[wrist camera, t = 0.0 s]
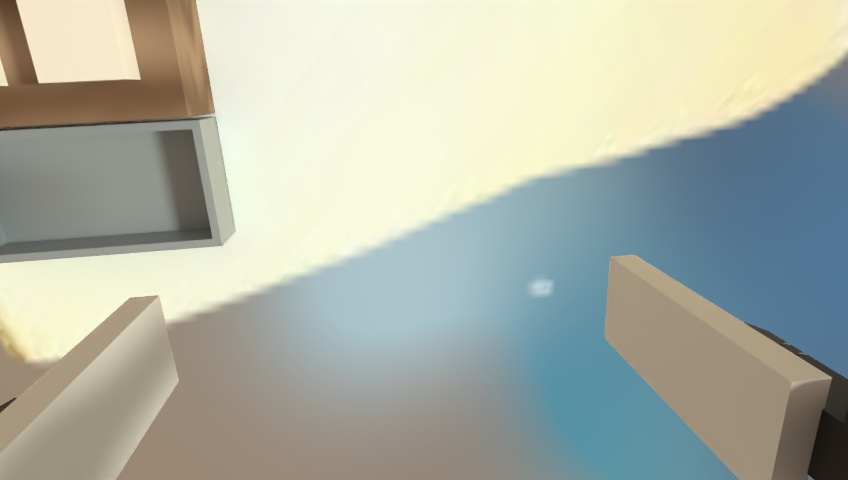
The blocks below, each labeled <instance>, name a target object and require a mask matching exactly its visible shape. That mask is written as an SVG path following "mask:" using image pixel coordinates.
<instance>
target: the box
mask: <svg viewBox="0 0 848 480" xmlns="http://www.w3.org/2000/svg"><path fill="white" fill-rule="evenodd" d="M234 232H235V226H234V220H233V214H232V208H231V202H230V197H229V191H228V185H227V179H226V174H225V168H224V162H223V156H222V150H221V145H220V139H219V133H218V127H217V121H216V117H204V118H185V119H167V120H149V121H130V122H112V123H93V124H75V125H57V126H38V127H20V128H2V129H0V263H9V262H22V261H35V260H48V259H60V258H73V257H86V256H99V255H111V254H124V253H137V252H150V251H163V250H175V249H188V248H201V247H214V246H222V245H223V244H224V243H225V242H226V241H227V240H228V239H229V238H230V237H231V236H232V235H233V233H234Z"/></svg>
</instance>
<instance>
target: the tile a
mask: <svg viewBox="0 0 848 480" xmlns="http://www.w3.org/2000/svg"><path fill="white" fill-rule="evenodd" d="M0 86H8V83H7V79H6V76H5V73H4V69H3V66H2V62H1V59H0Z"/></svg>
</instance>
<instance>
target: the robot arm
mask: <svg viewBox="0 0 848 480" xmlns="http://www.w3.org/2000/svg"><path fill="white" fill-rule="evenodd" d="M607 296H608V297H607V309H606V322H605V337H604V338H605V339H606V340H607V341H608V342H609V343H610V344H611V345H612V346H613V347H614V348H615V349H616V350H617V351H618V352H619V353H620V355H622V357H623V358H624V359H625V360H626V361H627V362H628V363H629V364H630V365H631V366H632V367H633V368H634V369H635V370H636V371H637V372H638V373H639V375H640V376H641V377H642V378H643V379H644V380H645V381H646V382H647V383H648V384H649V385H650V386H651V387H652V388H653V389H654V390H655V391H656V392H657V393H658V394H659V396H660V397H661V398H662V399H663V400H664V401H665V402H666V403H667V404H668V405H669V406H670V407H671V408H672V409H673V410H674V411H675V412H676V413H677V414H678V415H679V417H680V418H682V420H683V421H684V422H685V423H686V424H687V425H688V426H689V427H690V428H691V429H692V430H693V431H694V432H695V433H696V434H697V435H698V436H699V437H700V439H701V440H702V441H703V442H704V443H705V444H706V445H707V446H708V447H709V448H710V449H711V450H712V451H713V452H714V453H715V454H716V455H717V456H718V457H719V459H720V460H721V461H722V462H723V463H724V464H725V465H726V466H727V467H728V468H729V469H730V470H731V471H732V472H733V473H734V474H735V475H736V476H737V477H738V478H739V480H808V476H809V475H810V476H811V477H812V478H813V479H814V480H848V379H846V378H844V377H843V376H841V375H840V374H838V373H836V372H835V371H833V370H831V369H830V368H828V367H827V366H825V365H823V364H821V363H820V362H818V361H817V360H815V359H813V358H812V357H810V356H808V355H804V354H803V352H802V351H800V350H798V349H797V348H795V347H793V346H792V345H790V346H788V344H787V342H785V341H784V340H782V339H780V338H779V337H777V336H775V335H774V334H772V333H770V332H769V331H766V330H763V329H761V328H758V327H756V326H753V325H750V324H748V323H745V322H742V321H740V320H739V319H737V318H735V317H734V316H732V315H730V314H729V313H727V312H725V311H724V310H722V309H721V308H719V307H718V306H716V305H715V304H713V303H711V302H710V301H708V300H706V299H705V298H703V297H701V296H700V295H698V294H697V293H695V292H694V291H692V290H690V289H689V288H687V287H686V286H684V285H682V284H681V283H679V282H678V281H676V280H674V279H673V278H671V277H670V276H668V275H666V274H664V273H663V272H661V271H660V270H658V269H657V268H655V267H653V266H652V265H650V264H649V263H647V262H645V261H644V260H642V259H641V258H639V257H637V256H636V255H624V256H613V257H610V267H609V282H608V295H607ZM178 381H179V380H178V376H177V371H176V367H175V363H174V359H173V354H172V350H171V346H170V341H169V337H168V333H167V328H166V324H165V319H164V315H163V311H162V307H161V302H160V298H159V295H158V296H146V297H135V298H129V299H128V300H127V301H126V302H125V303H124V304H123V305H121V306H120V307H119V308H118V309H117V310H116V311H115V312H114V313H112V314H111V315H110V316H109V317H108V318H107V319H106V320H105V321H103V322H102V323H101V324H100V325H99V326H98V327H97V328H96V329H94V330H93V331H92V332H91V333H90V334H89V335H88V336H87V337H85V338H84V339H83V340H82V341H81V342H80V343H79V344H78V345H76V346H75V347H74V348H73V349H72V350H71V351H70V352H68V353H67V354H66V355H65V356H64V357H63V358H62V359H61V360H59V361H58V362H57V363H56V364H55V365H54V366H53V367H52V368H50V369H49V370H48V371H47V372H46V373H45V374H44V375H43V376H41V377H40V378H39V379H38V380H37V381H36V382H35V383H34V384H32V385H31V386H30V387H29V388H28V389H27V390H26V391H25V392H23V393H22V394H21V395H20V396H19V397H18V398H13V399H12V400H10V401H8V402H7V403H5V404H3V405H1V406H0V480H116V478H117V476H118V475H119V473H120V472H121V470H122V469H123V467H124V466H125V464H126V462H127V461H128V459H129V458H130V456H131V455H132V453H133V452H134V450H135V448H136V447H137V445H138V444H139V442H140V441H141V439H142V438H143V436H144V434H145V433H146V431H147V430H148V428H149V427H150V425H151V423H152V422H153V420H154V419H155V417H156V415H157V414H158V413H159V411H160V409H161V408H162V406H163V405H164V403H165V402H166V400H167V399H168V397H169V395H170V394H171V392H172V391H173V389H174V388H175V386H176V384H177V383H178Z"/></svg>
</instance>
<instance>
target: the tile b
mask: <svg viewBox="0 0 848 480" xmlns="http://www.w3.org/2000/svg"><path fill="white" fill-rule="evenodd" d="M16 2H17V6H18V10H19V13H20V17H21V20H22V24H23V28H24V31H25V35H26V39H27V42H28V46H29V50H30V53H31V57H32V61H33V64H34V68H35V71H36V75H37V79H38V82H39V83H54V84H60V83H81V82H103V81H124V80H141V78H140V73H139V69H138V64H137V59H136V55H135V50H134V45H133V41H132V36H131V31H130V27H129V22H128V17H127V13H126V8H125V3H124V0H16Z"/></svg>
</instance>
